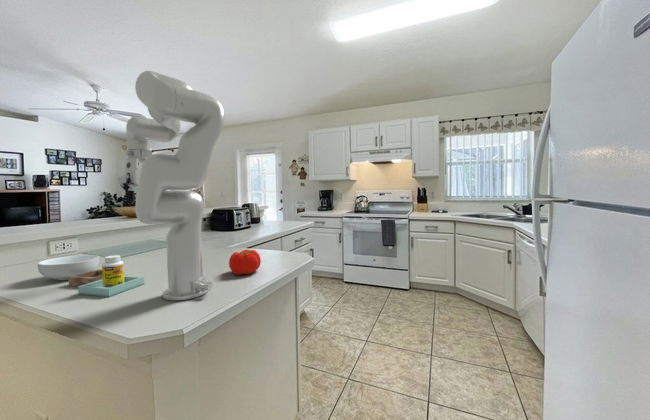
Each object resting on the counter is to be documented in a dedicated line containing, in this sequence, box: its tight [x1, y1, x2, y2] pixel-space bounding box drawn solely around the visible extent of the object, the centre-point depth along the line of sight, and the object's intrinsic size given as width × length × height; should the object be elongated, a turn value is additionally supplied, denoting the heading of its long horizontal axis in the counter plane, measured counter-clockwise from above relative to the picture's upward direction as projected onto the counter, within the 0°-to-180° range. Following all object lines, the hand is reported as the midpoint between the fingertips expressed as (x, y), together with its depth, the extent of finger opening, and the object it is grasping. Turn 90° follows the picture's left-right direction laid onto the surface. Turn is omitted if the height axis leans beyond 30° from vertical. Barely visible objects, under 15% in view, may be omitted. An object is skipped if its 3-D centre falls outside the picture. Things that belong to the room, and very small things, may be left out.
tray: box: [77, 275, 145, 298], centre depth 87 cm, size 12×12×2 cm
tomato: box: [228, 249, 262, 276], centre depth 104 cm, size 13×12×8 cm
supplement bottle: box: [101, 254, 125, 288], centre depth 87 cm, size 6×6×10 cm
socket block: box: [68, 268, 103, 287], centre depth 95 cm, size 10×10×3 cm
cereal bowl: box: [37, 254, 100, 281], centre depth 101 cm, size 17×17×7 cm
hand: (142, 201), depth 101 cm, fingers open, 9 cm apart
